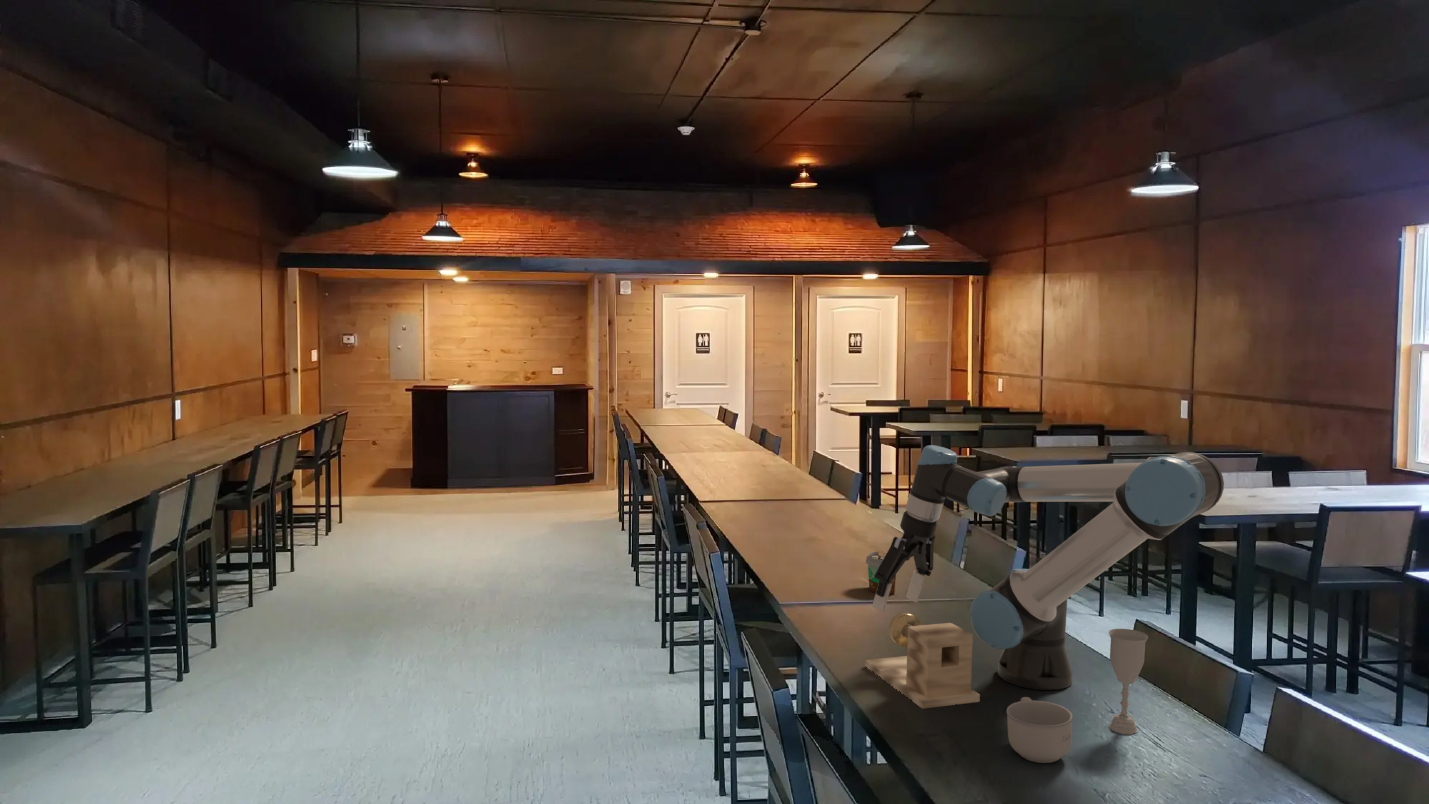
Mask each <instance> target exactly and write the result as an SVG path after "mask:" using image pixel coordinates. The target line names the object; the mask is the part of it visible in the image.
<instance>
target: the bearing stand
mask: <svg viewBox="0 0 1429 804" xmlns="http://www.w3.org/2000/svg"><path fill="white" fill-rule="evenodd" d="M973 636H974V634H972V632H969V631H966V630H965V629H963V628H961V627H960V626H958V625H956V624H954V623H952V622H943V623H933V624H921V625H920V626H909V627H908V644H907V647H906V648H907V650H906V655H901V656H892V657H883V658H882V657H881V658H873V659H865V662H864V664H865V665H864V667H865V666H866V667H867V668H866V667H865V668H866V669H868V670H869V669H870V670H871V671H870V670H869V671H870V672H872V671H873V672H874V673H875V674H874V673H873V672H872V673H873V674H874V675H876V674H877V675H878V677H879V676H880V677H881V678H882V679H881V678H880V677H879V678H880V679H881V680H883V679H884V680H885V681H886V682H885V681H884V680H883V681H884V682H885V683H887V684H888V685H889V684H890V685H889V686H891V687H892V686H893V687H892V688H893V689H894V690H896V689H897V691H898V692H899V691H900V692H901V694H902V695H903V694H904V695H905V696H904V695H903V696H904V697H906V698H907V697H908V698H907V699H908V700H910V699H911V700H912V703H914V704H916V705H917V706H918V707H919V708H921V709H930V708H932V709H933V708H938V707H946V706H947V707H948V706H955V705H956V704H957V705H963V704H972V703H979V702H980V701H981V700H980V699H981V698H980V697H981V694H980V693H978V692H977V691H975V690H974V689H972V688H971V687H972V671H973V670H972V669H973V668H972V667H973V665H972V664H973V663H972V662H973V640H974V637H973ZM877 675H876V676H877ZM900 692H899V693H900ZM911 700H910V701H911Z"/></svg>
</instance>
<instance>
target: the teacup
mask: <svg viewBox="0 0 1429 804" xmlns="http://www.w3.org/2000/svg"><path fill="white" fill-rule="evenodd" d="M1006 715H1007V716H1006V718H1007V719H1006V720H1007V721H1006V722H1007V736H1008V741H1009V744H1010V746H1011V747H1012V749H1013V750H1014V751H1015V752H1016V753H1018V754H1019V755H1020V756H1021V758H1023V759H1025V760H1028V761H1030V762H1034V763H1039V764H1051V763H1054V762H1057V761H1059V760H1060V759H1061V758H1063V757H1065V756H1066V755H1067V754H1068V752H1069V751H1070V749H1071V745H1072V737H1073V736H1072V734H1073V733H1072V732H1073V728H1072V727H1073V725H1072V724H1073V714H1072V712H1071V711H1070V710H1069V709H1067V708H1066V707H1064V706H1063V705H1060V704H1057V703H1054V702H1050V701H1043V700H1032V699H1031V697H1029V696H1023V697H1021V698H1020V701H1017V702H1016V701H1015V702H1013V703H1011V704H1009V705H1008V706H1007V708H1006Z"/></svg>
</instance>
